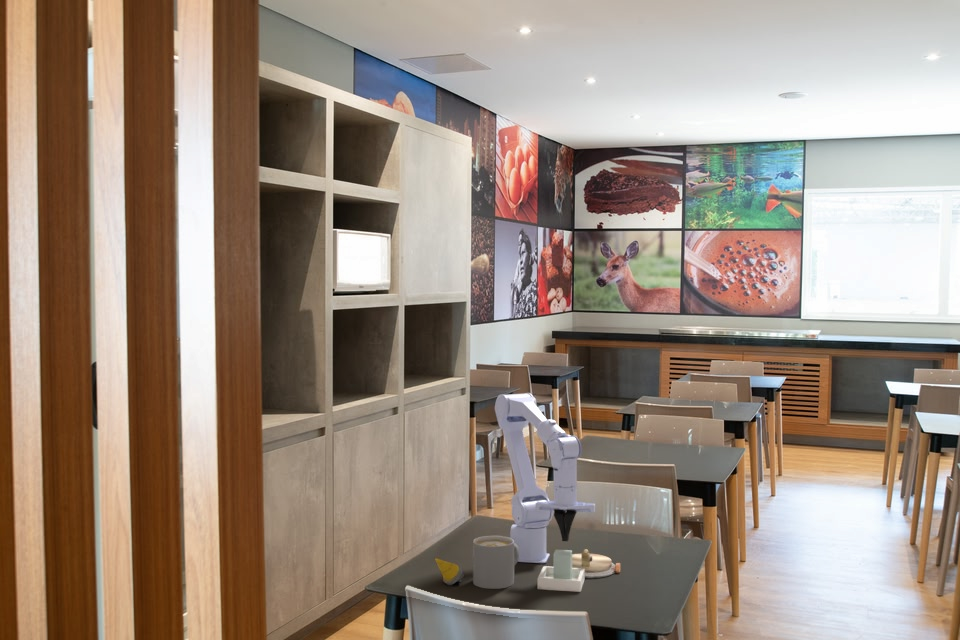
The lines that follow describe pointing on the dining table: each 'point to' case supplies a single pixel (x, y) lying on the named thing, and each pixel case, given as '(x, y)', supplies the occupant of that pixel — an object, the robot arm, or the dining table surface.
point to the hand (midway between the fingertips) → (565, 540)
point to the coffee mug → (494, 561)
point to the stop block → (562, 564)
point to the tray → (561, 580)
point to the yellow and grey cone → (450, 571)
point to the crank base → (604, 572)
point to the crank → (591, 562)
